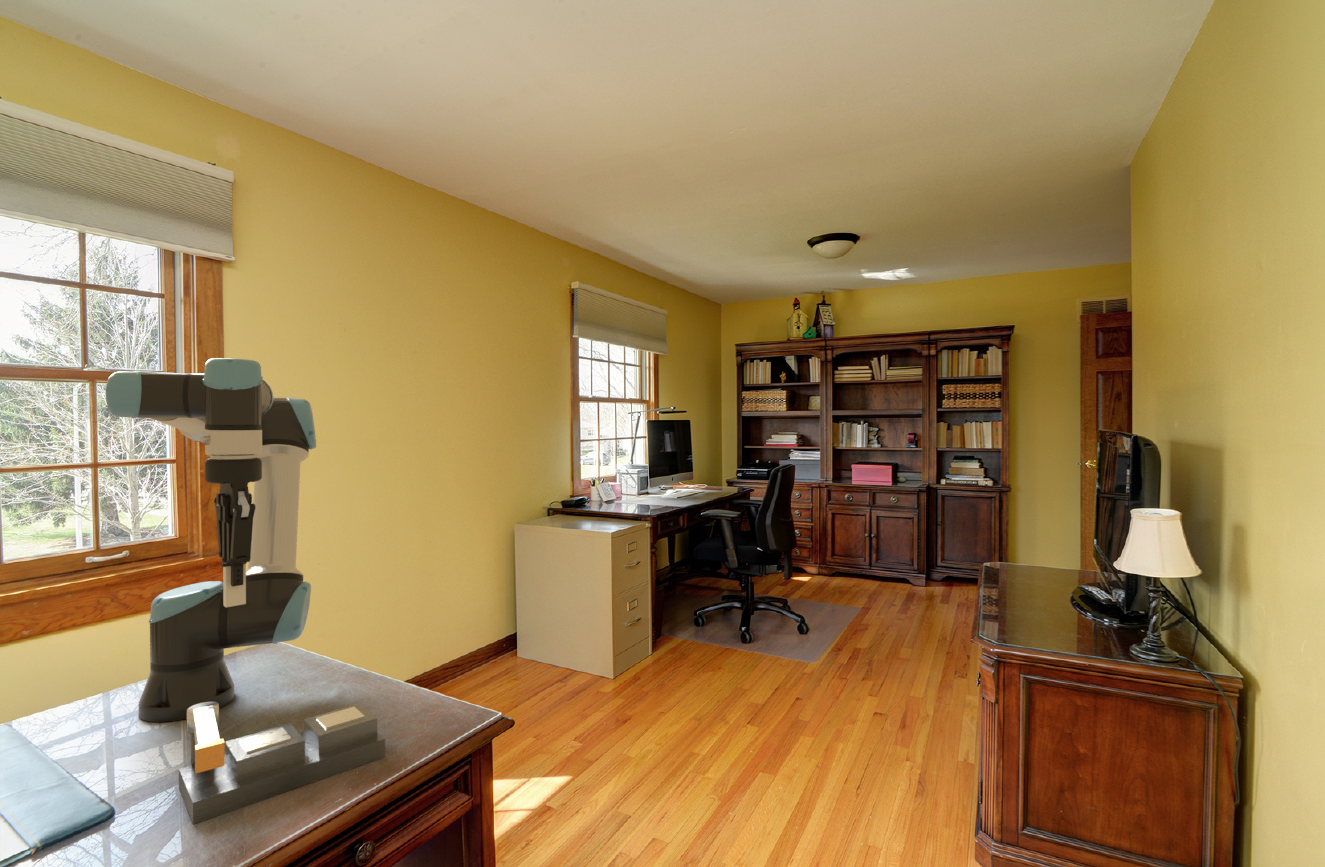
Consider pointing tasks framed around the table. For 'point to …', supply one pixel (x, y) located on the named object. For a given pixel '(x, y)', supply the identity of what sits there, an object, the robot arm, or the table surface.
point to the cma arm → (206, 735)
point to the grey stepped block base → (281, 761)
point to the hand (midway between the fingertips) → (234, 604)
